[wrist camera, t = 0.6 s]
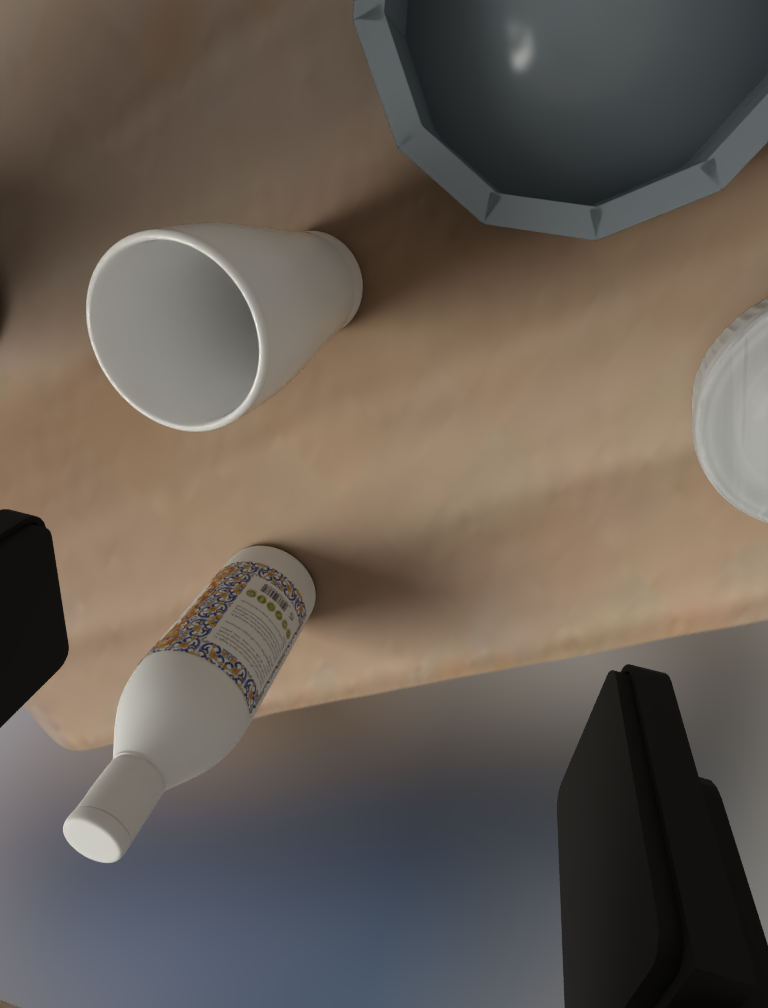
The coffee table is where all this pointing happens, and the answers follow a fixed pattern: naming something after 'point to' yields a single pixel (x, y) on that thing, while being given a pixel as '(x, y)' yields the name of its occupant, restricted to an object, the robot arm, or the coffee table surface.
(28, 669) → the robot arm
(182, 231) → the drinking glass
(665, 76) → the bowl
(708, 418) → the ramekin
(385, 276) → the coffee table surface
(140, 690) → the bath foam
